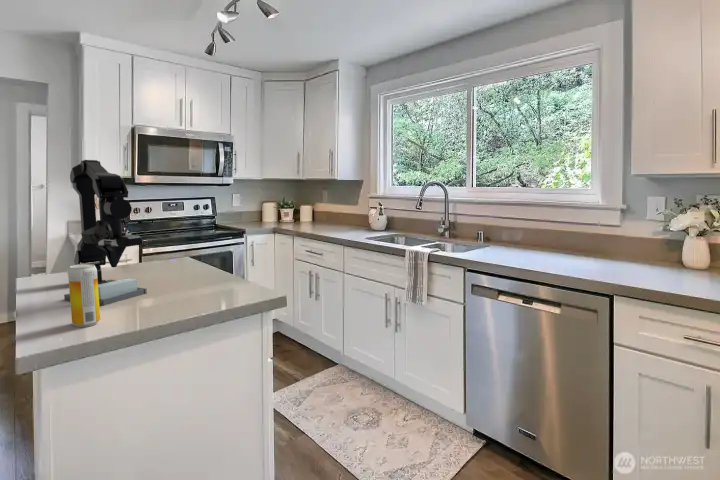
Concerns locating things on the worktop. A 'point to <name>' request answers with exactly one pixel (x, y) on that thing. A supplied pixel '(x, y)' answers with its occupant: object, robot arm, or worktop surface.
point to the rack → (116, 298)
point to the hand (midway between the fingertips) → (113, 267)
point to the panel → (117, 288)
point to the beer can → (84, 295)
